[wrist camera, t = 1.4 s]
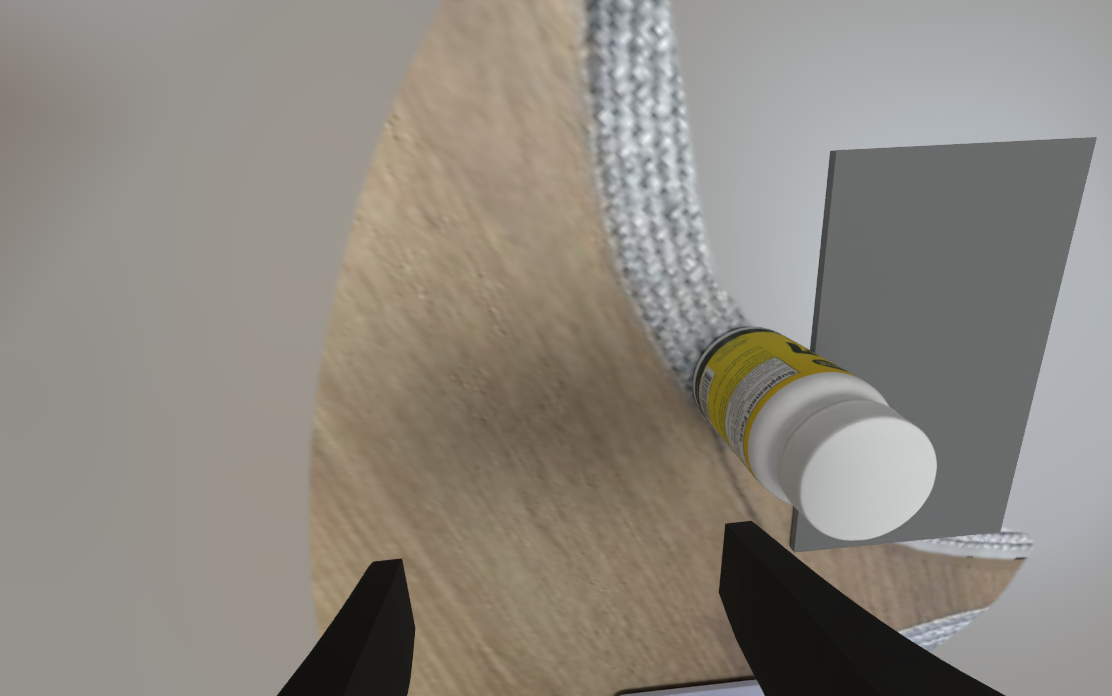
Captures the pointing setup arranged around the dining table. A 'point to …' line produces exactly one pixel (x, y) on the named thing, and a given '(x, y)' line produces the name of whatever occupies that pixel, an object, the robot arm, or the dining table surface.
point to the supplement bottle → (814, 434)
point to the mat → (947, 305)
